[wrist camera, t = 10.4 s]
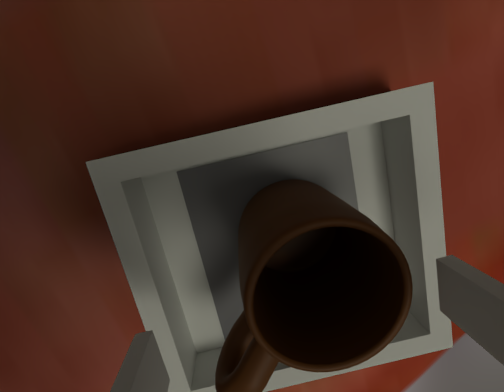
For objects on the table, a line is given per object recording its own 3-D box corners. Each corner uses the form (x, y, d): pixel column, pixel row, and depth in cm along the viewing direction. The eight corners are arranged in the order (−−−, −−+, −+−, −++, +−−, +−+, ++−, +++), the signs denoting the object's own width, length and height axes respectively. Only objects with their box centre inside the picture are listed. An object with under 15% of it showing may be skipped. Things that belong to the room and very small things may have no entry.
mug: (264, 334, 24) (284, 466, 14) (183, 286, 22) (147, 397, 13) (361, 215, 22) (454, 279, 13) (279, 154, 20) (316, 177, 11)
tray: (185, 363, 25) (175, 413, 21) (116, 154, 21) (85, 162, 17) (415, 309, 25) (452, 347, 21) (391, 91, 21) (433, 81, 17)
